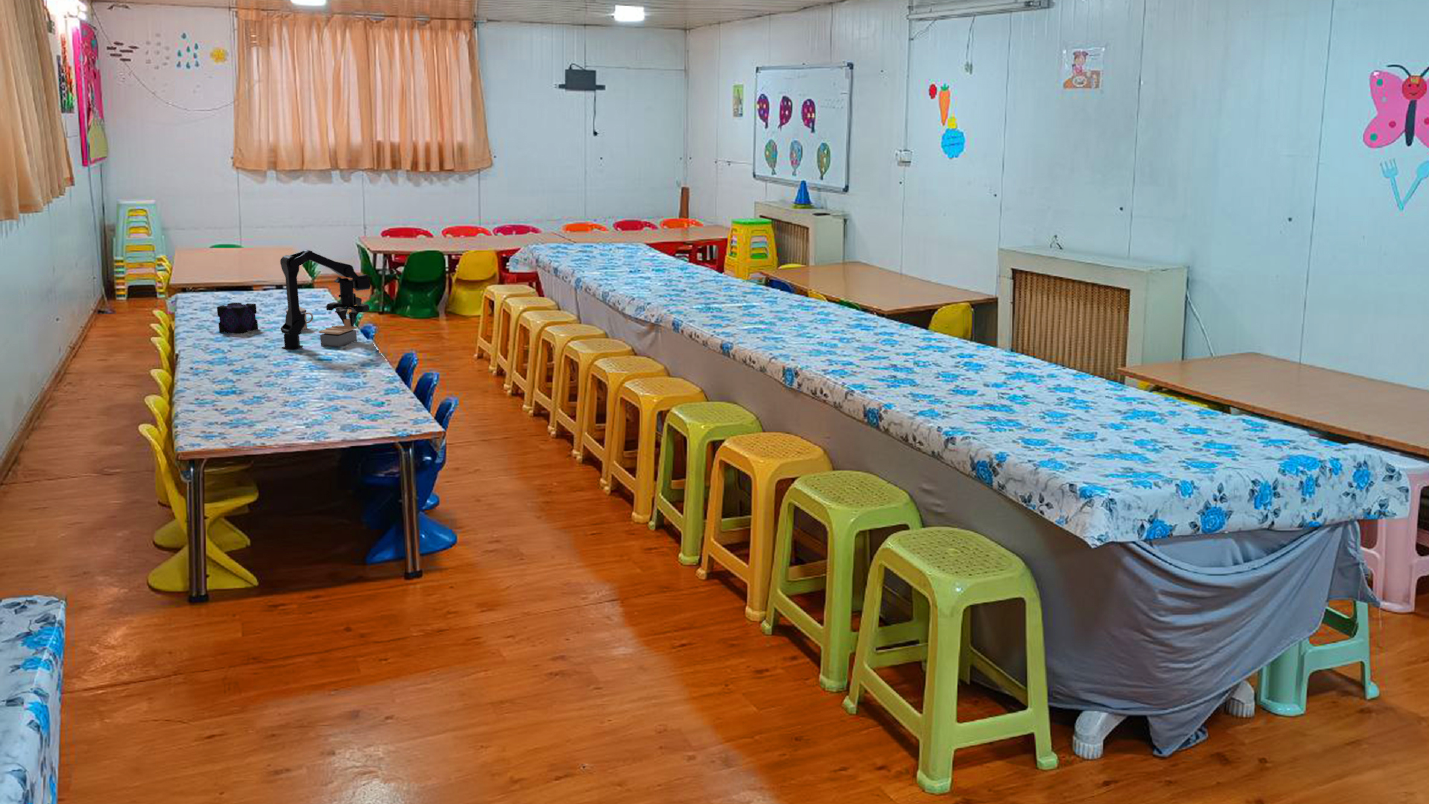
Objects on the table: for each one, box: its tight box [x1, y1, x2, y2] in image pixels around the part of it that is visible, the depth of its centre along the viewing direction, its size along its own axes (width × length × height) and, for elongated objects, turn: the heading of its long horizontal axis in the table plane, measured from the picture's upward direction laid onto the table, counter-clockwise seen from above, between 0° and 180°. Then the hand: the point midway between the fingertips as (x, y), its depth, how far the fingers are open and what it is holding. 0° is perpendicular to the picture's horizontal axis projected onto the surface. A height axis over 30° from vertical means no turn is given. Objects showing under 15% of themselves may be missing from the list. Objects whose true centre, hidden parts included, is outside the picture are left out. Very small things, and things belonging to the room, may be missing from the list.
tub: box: [319, 329, 358, 348], centre depth 508 cm, size 14×9×5 cm, turn 165°
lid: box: [318, 317, 358, 334], centre depth 508 cm, size 17×10×4 cm, turn 165°
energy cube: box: [216, 302, 259, 335], centre depth 532 cm, size 12×12×12 cm
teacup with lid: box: [285, 306, 314, 331], centre depth 538 cm, size 12×9×12 cm
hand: (349, 326), depth 515 cm, fingers closed on lid, 3 cm apart
